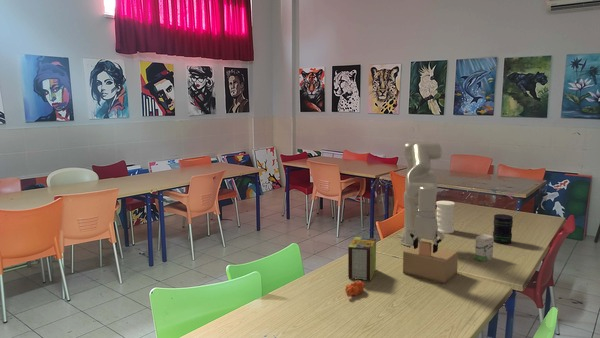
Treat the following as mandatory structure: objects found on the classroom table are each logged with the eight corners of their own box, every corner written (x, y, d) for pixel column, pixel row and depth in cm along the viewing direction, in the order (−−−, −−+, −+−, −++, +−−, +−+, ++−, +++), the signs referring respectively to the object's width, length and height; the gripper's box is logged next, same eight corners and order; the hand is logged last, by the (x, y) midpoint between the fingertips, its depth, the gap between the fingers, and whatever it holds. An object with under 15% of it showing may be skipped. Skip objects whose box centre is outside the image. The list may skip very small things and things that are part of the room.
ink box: (482, 261, 222) (484, 239, 221) (474, 258, 227) (475, 236, 225) (493, 258, 227) (494, 236, 225) (484, 255, 231) (485, 233, 229)
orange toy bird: (351, 287, 181) (366, 277, 190) (336, 288, 186) (352, 279, 195) (354, 299, 181) (369, 289, 190) (340, 299, 186) (355, 290, 195)
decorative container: (456, 229, 277) (457, 201, 274) (451, 234, 267) (452, 205, 264) (437, 227, 283) (438, 199, 280) (432, 231, 273) (433, 203, 270)
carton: (402, 273, 209) (403, 253, 207) (417, 263, 221) (417, 244, 220) (444, 284, 196) (445, 262, 195) (457, 272, 209) (458, 252, 207)
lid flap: (403, 253, 207) (403, 239, 206) (417, 244, 220) (418, 231, 218) (445, 262, 195) (445, 247, 194) (458, 252, 207) (458, 238, 206)
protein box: (375, 269, 214) (376, 238, 212) (370, 281, 200) (370, 248, 198) (354, 266, 218) (354, 236, 215) (347, 278, 203) (347, 246, 201)
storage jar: (492, 243, 250) (494, 217, 248) (492, 238, 259) (493, 213, 257) (512, 245, 247) (513, 219, 244) (510, 240, 256) (512, 215, 253)
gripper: (404, 212, 202) (403, 248, 204) (442, 218, 191) (440, 256, 193) (412, 208, 207) (411, 244, 210) (448, 214, 196) (447, 251, 199)
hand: (425, 250), depth 202 cm, fingers open, 8 cm apart
